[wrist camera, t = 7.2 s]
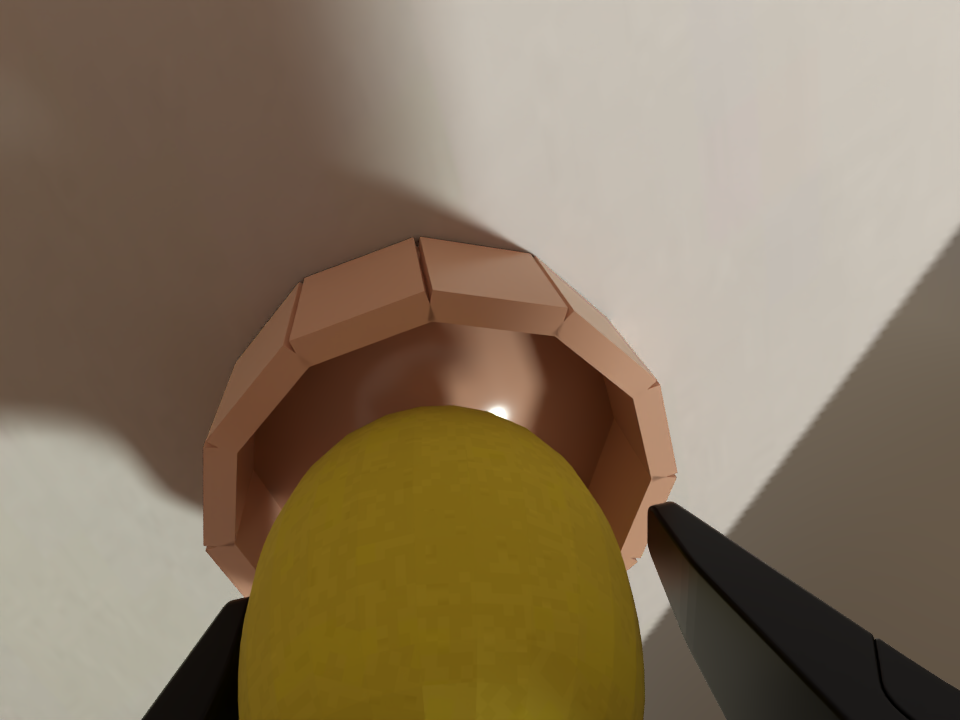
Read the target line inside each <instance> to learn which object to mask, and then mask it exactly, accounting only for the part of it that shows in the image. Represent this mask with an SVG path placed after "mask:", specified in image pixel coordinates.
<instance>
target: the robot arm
mask: <svg viewBox="0 0 960 720" xmlns="http://www.w3.org/2000/svg"><path fill="white" fill-rule="evenodd" d="M647 542H648V548H649V551H650V555H651V557H652V560H653V562H654V565H655V567H656V570H657V572H658V575H659V577H660V580H661V582H662V585H663V587H664V590H665V592H666V595H667V597H668V600H669V602H670V605H671V607H672V610H673V612H674V615H675V617H676V620H677V622H678V625H679V627H680V629H681V632H682V634H683V637H684V639H685V641H686V643H687V645H688V647H689V649H690V651H691V653H692V655H693V657H694V659H695V661H696V663H697V665H698V666H699V669H700V670H701V672H702V674H703V676H704V678H705V680H706V682H707V684H708V685H709V687H710V689H711V691H712V693H713V695H714V697H715V699H716V701H717V702H718V704H719V706H720V708H721V710H722V712H723V714H724V716H725V718H726V719H727V720H960V690H958V689H957V688H955V687H953V686H952V685H950V684H948V683H946V682H945V681H943V680H942V679H940V678H939V677H937V676H935V675H934V674H932V673H931V672H929V671H928V670H926V669H925V668H923V667H921V666H920V665H918V664H917V663H915V662H914V661H912V660H911V659H909V658H907V657H906V656H904V655H903V654H901V653H900V652H898V651H897V650H895V649H894V648H892V647H891V646H889V645H888V644H886V643H885V642H883V641H882V640H880V639H877V638H876V639H875V640H874V637H873V635H872V634H871V633H870V632H868V631H866V630H865V629H863V628H862V627H860V626H859V625H858V624H856V623H855V622H853V621H852V620H850V619H849V618H847V617H846V616H844V615H843V614H841V613H840V612H838V611H836V610H835V609H833V608H832V607H831V606H829V605H828V604H826V603H824V602H823V601H822V600H820V599H819V598H817V597H816V596H814V595H813V594H811V593H810V592H808V591H807V590H805V589H803V588H802V587H801V586H799V585H798V584H796V583H795V582H793V581H792V580H790V579H789V578H787V577H786V576H784V575H783V574H781V573H780V572H778V571H777V570H775V569H774V568H772V567H771V566H769V565H768V564H766V563H765V562H763V561H762V560H760V559H759V558H757V557H756V556H754V555H753V554H751V553H750V552H748V551H747V550H745V549H744V548H742V547H741V546H739V545H738V544H736V543H735V542H733V541H732V540H730V539H729V538H727V537H726V536H724V535H723V534H721V533H720V532H718V531H717V530H715V529H714V528H712V527H711V526H709V525H708V524H706V523H705V522H703V521H702V520H700V519H699V518H697V517H696V516H694V515H693V514H692V513H690V512H689V511H687V510H686V509H684V508H683V507H681V506H680V505H678V504H676V503H674V502H664V503H660V504H656V505H652V506H650V507H649V509H648V512H647ZM249 597H250V596H249ZM249 597H245V598H240V599H236V600H232V601H230V602H228V603H227V604H226V605H225V606H224V607H223V608H222V610H221V611H220V612H219V614H218V615H217V616H216V618H215V619H214V621H213V622H212V623H211V625H210V626H209V627H208V629H207V630H206V632H205V633H204V634H203V636H202V637H201V638H200V640H199V641H198V643H197V644H196V645H195V647H194V648H193V649H192V651H191V652H190V654H189V655H188V656H187V658H186V659H185V660H184V662H183V663H182V665H181V666H180V667H179V669H178V670H177V671H176V673H175V674H174V676H173V677H172V678H171V680H170V681H169V682H168V684H167V685H166V687H165V688H164V689H163V691H162V692H161V693H160V695H159V696H158V698H157V699H156V700H155V702H154V703H153V704H152V706H151V707H150V709H149V710H148V711H147V713H146V714H145V715H144V717H143V718H142V720H239V709H238V669H239V655H240V644H241V637H242V630H243V624H244V618H245V614H246V610H247V605H248V601H249Z"/></svg>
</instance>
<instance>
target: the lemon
mask: <svg viewBox="0 0 960 720" xmlns="http://www.w3.org/2000/svg"><path fill="white" fill-rule="evenodd" d="M644 684H645V683H644V663H643V651H642V642H641V635H640V629H639V622H638V617H637V612H636V608H635V603H634V599H633V595H632V591H631V587H630V583H629V579H628V576H627V572H626V568H625V564H624V561H623V558H622V555H621V551H620V548H619V545H618V542H617V540H616V538H615V535H614V533H613V531H612V528H611V526H610V524H609V522H608V520H607V518H606V516H605V515H604V513H603V511H602V509H601V508H600V506H599V505H598V503H597V502H596V500H595V499H594V497H593V496H592V494H591V493H590V492H589V490H588V489H587V487H586V486H585V484H584V483H583V482H582V480H581V479H580V477H579V476H578V475H577V473H576V472H575V470H574V469H573V467H572V466H571V465H570V464H569V463H568V462H567V461H566V460H565V458H564V457H563V456H562V455H560V454H559V453H558V452H556V451H555V450H554V449H553V448H551V447H550V446H549V445H548V444H546V443H545V442H544V441H542V440H541V439H540V438H539V437H537V436H536V435H535V434H533V433H532V432H531V431H530V430H528V429H527V428H525V427H523V426H521V425H518V424H516V423H514V422H512V421H509V420H507V419H505V418H502V417H500V416H498V415H496V414H493V413H491V412H488V411H483V410H478V409H472V408H467V407H461V406H456V405H447V406H420V407H416V408H412V409H408V410H404V411H399V412H395V413H391V414H387V415H385V416H383V417H381V418H379V419H377V420H375V421H373V422H371V423H369V424H367V425H365V426H363V427H361V428H359V429H357V430H355V431H353V432H351V433H349V434H347V435H346V436H345V437H344V438H343V439H342V440H340V441H339V442H338V443H337V444H336V445H335V446H334V447H332V448H331V449H330V450H329V451H328V452H327V453H326V454H324V455H323V456H322V457H321V458H320V459H319V460H318V461H317V462H315V463H314V464H313V465H312V466H311V467H310V468H309V470H308V471H307V472H306V474H305V475H304V476H303V478H302V479H301V480H300V482H299V483H298V485H297V487H296V488H295V490H294V491H293V493H292V494H291V496H290V497H289V499H288V500H287V502H286V503H285V505H284V507H283V508H282V510H281V511H280V513H279V515H278V517H277V518H276V520H275V522H274V523H273V525H272V527H271V530H270V532H269V534H268V536H267V538H266V541H265V543H264V546H263V549H262V552H261V554H260V557H259V560H258V563H257V567H256V572H255V576H254V580H253V584H252V588H251V593H250V597H249V601H248V605H247V610H246V614H245V618H244V624H243V630H242V637H241V644H240V655H239V669H238V709H239V720H643V715H644V705H645V685H644Z"/></svg>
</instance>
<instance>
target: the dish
mask: <svg viewBox="0 0 960 720" xmlns="http://www.w3.org/2000/svg"><path fill="white" fill-rule="evenodd" d="M447 405H456V406H461V407H467V408H472V409H478V410H483V411H488V412H491V413H493V414H496V415H498V416H500V417H502V418H505V419H507V420H509V421H512V422H514V423H516V424H518V425H521V426H523V427H525V428H527V429H528V430H530V431H531V432H532V433H533V434H535V435H536V436H537V437H539V438H540V439H541V440H542V441H544V442H545V443H546V444H548V445H549V446H550V447H551V448H553V449H554V450H555V451H556V452H558V453H559V454H560V455H562V456H563V457H564V458H565V460H566V461H567V462H568V463H569V464H570V465H571V466H572V467H573V469H574V470H575V472H576V473H577V475H578V476H579V477H580V479H581V480H582V482H583V483H584V484H585V486H586V487H587V489H588V490H589V492H590V493H591V494H592V496H593V497H594V499H595V500H596V502H597V503H598V505H599V506H600V508H601V509H602V511H603V513H604V515H605V516H606V518H607V520H608V522H609V524H610V526H611V528H612V531H613V533H614V535H615V538H616V540H617V542H618V545H619V548H620V551H621V555H622V558H623V561H624V564H625V568H626V571H627V570H628V569H630V568H631V567H632V566H633V565H634V564H636V563H637V560H636V558H641V556H642V554H643V551H644V549H645V547H646V545H647V543H648V542H647V512H648V509H649V507H650V506H652V505H656V504H660V503H664V502H666V500H667V498H668V496H669V494H670V491H671V489H672V487H673V485H674V482H675V480H676V478H677V477H676V476H675V473H677V468H676V463H675V458H674V453H673V448H672V443H671V438H670V433H669V428H668V422H667V417H666V412H665V407H664V402H663V397H662V392H661V387H660V384H659V383H658V382H657V379H656V378H655V377H654V375H653V374H652V373H651V372H650V370H649V369H648V368H647V367H646V365H645V364H644V363H643V362H642V361H641V359H640V358H639V357H638V356H637V354H636V353H635V352H634V351H633V349H632V348H631V347H630V346H629V344H628V343H627V342H626V341H625V339H624V338H623V337H622V336H621V334H620V333H619V332H618V331H617V329H616V328H615V327H614V326H613V324H612V323H611V322H610V321H609V319H608V318H607V317H606V316H605V315H603V314H602V313H601V312H600V311H599V310H598V309H596V308H595V307H594V306H593V305H592V304H591V303H590V302H588V301H587V300H586V299H585V298H584V297H583V296H581V295H580V294H579V293H578V292H577V291H576V290H574V289H573V288H572V287H571V286H570V285H569V284H567V283H566V282H565V281H564V280H563V279H562V278H560V277H559V276H558V275H557V274H556V273H555V272H553V271H552V270H551V269H550V268H549V267H548V266H547V265H545V264H544V263H543V262H542V261H541V260H540V259H538V258H537V257H536V256H535V257H534V258H533V257H532V256H531V254H530V253H524V252H517V251H511V250H504V249H498V248H491V247H485V246H478V245H472V244H465V243H458V242H452V241H445V240H439V239H432V238H426V237H420V239H419V245H418V247H417V245H416V243H415V240H414V238H410V239H407V240H405V241H402V242H399V243H397V244H394V245H391V246H389V247H386V248H383V249H380V250H378V251H375V252H372V253H370V254H367V255H364V256H362V257H359V258H356V259H354V260H351V261H348V262H346V263H343V264H340V265H338V266H335V267H332V268H330V269H327V270H324V271H321V272H319V273H316V274H313V275H311V276H308V277H305V278H304V282H303V284H302V283H301V282H299V283H298V284H297V285H296V286H295V288H294V289H293V290H292V292H291V293H290V294H289V295H288V297H287V298H286V299H285V300H284V302H283V303H282V304H281V306H280V307H279V308H278V309H277V311H276V312H275V313H274V314H273V316H272V317H271V318H270V320H269V321H268V322H267V323H266V325H265V326H264V327H263V328H262V330H261V331H260V332H259V334H258V335H257V336H256V337H255V339H254V340H253V341H252V342H251V344H250V345H249V346H248V348H247V349H246V350H245V351H244V353H243V354H242V355H241V356H240V358H239V359H238V360H237V362H236V363H235V366H234V368H233V371H232V373H231V376H230V379H229V381H228V384H227V386H226V389H225V392H224V394H223V397H222V399H221V402H220V405H219V407H218V410H217V412H216V415H215V418H214V420H213V423H212V425H211V428H210V431H209V433H208V436H207V438H206V441H205V444H204V446H203V538H204V546H207V547H206V552H207V553H208V554H209V555H210V557H211V558H212V559H213V560H214V561H215V563H216V564H217V565H218V566H219V567H220V569H221V570H222V571H223V572H224V573H225V575H226V576H227V577H228V578H229V579H230V581H231V582H232V583H233V584H234V585H235V587H236V588H237V589H238V590H239V591H240V592H241V594H242V595H243V596H244V597H249V596H250V593H251V588H252V584H253V580H254V576H255V572H256V567H257V563H258V560H259V557H260V554H261V552H262V549H263V546H264V543H265V541H266V538H267V536H268V534H269V532H270V530H271V527H272V525H273V523H274V522H275V520H276V518H277V517H278V515H279V513H280V511H281V510H282V508H283V507H284V505H285V503H286V502H287V500H288V499H289V497H290V496H291V494H292V493H293V491H294V490H295V488H296V487H297V485H298V483H299V482H300V480H301V479H302V478H303V476H304V475H305V474H306V472H307V471H308V470H309V468H310V467H311V466H312V465H313V464H314V463H315V462H317V461H318V460H319V459H320V458H321V457H322V456H323V455H324V454H326V453H327V452H328V451H329V450H330V449H331V448H332V447H334V446H335V445H336V444H337V443H338V442H339V441H340V440H342V439H343V438H344V437H345V436H346V435H347V434H349V433H351V432H353V431H355V430H357V429H359V428H361V427H363V426H365V425H367V424H369V423H371V422H373V421H375V420H377V419H379V418H381V417H383V416H385V415H387V414H391V413H395V412H399V411H404V410H408V409H412V408H416V407H420V406H447Z"/></svg>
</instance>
